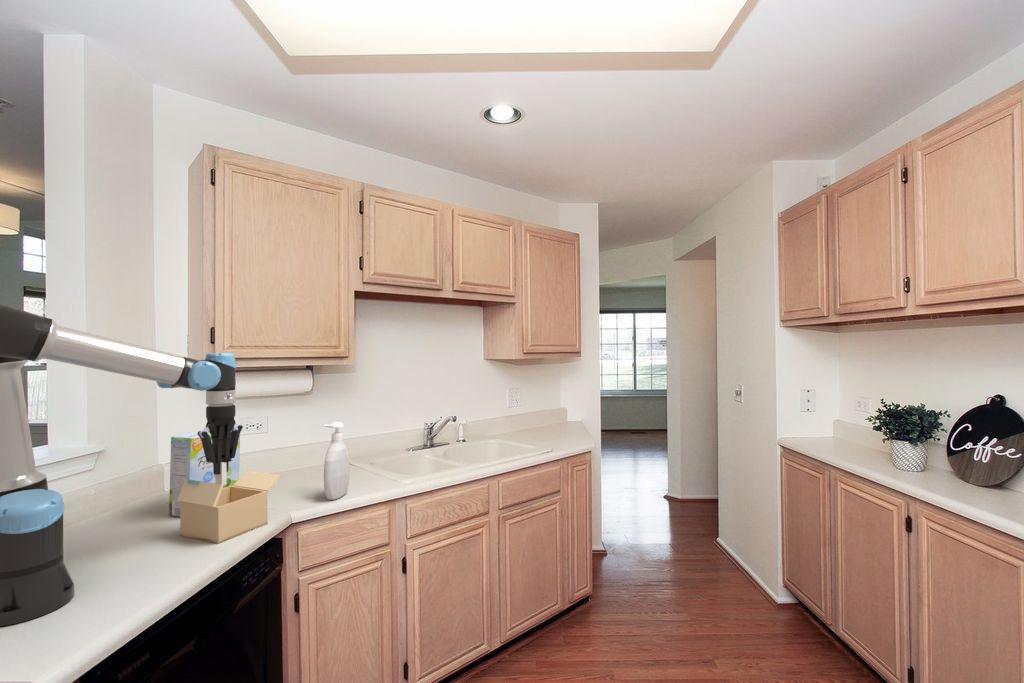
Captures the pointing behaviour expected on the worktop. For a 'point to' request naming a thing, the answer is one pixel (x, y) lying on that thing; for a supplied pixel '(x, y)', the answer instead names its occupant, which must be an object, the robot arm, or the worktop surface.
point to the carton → (224, 515)
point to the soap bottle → (336, 465)
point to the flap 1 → (200, 492)
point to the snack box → (194, 466)
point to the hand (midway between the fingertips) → (221, 484)
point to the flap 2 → (257, 480)
